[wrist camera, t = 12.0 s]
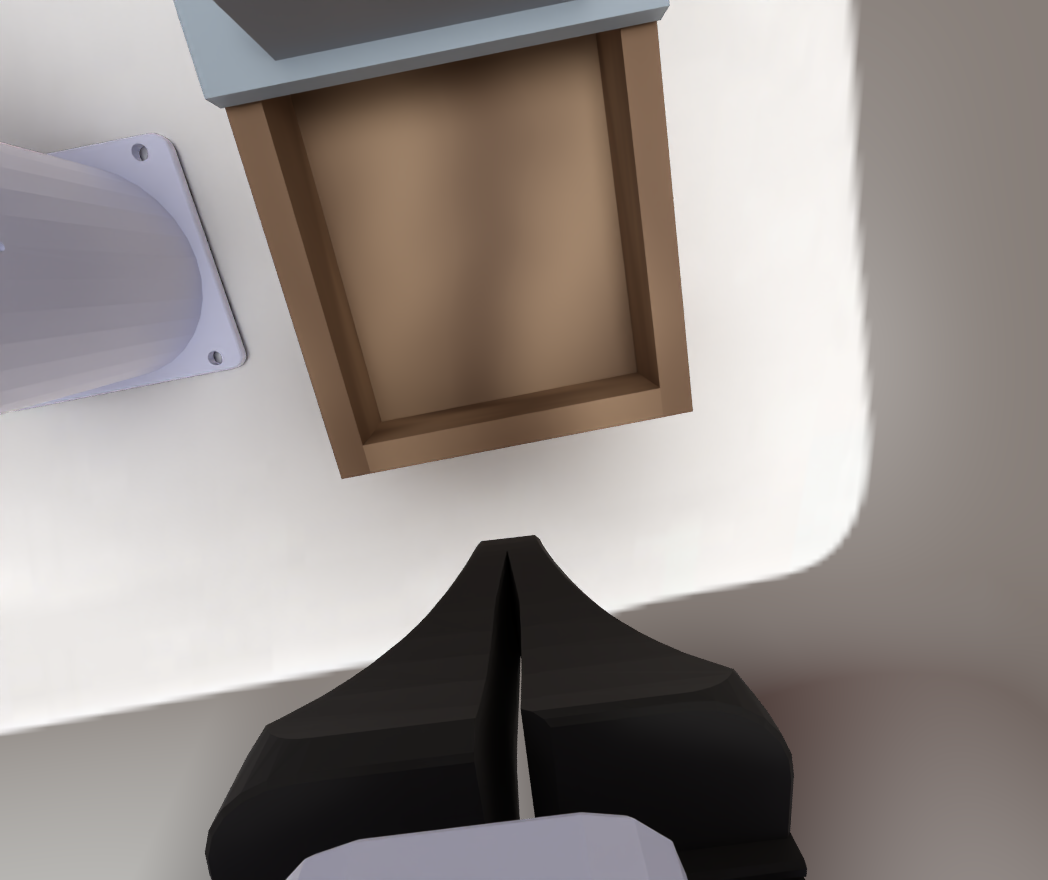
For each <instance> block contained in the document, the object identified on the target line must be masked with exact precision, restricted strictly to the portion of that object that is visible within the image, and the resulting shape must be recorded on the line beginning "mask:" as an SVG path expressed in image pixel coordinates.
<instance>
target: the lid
mask: <svg viewBox="0 0 1048 880" xmlns="http://www.w3.org/2000/svg"><path fill="white" fill-rule="evenodd" d="M173 1H174V4H175V7H176V10H177V14H178V17H179V20H180V23H181V26H182V29H183V32H184V35H185V38H186V41H187V44H188V48H189V51H190V54H191V57H192V60H193V63H194V66H195V69H196V72H197V75H198V79H199V82H200V85H201V88H202V91H203V94H204V97H205V99H206V100H208V101H209V102H211V103H213V104H214V105H216V106H218V107H219V108H225V107H230V106H235V105H240V104H245V103H250V102H255V101H260V100H265V99H270V98H275V97H280V96H285V95H290V94H295V93H300V92H305V91H310V90H315V89H320V88H325V87H330V86H335V85H340V84H345V83H350V82H355V81H360V80H365V79H370V78H375V77H379V76H384V75H389V74H394V73H399V72H404V71H409V70H414V69H419V68H424V67H429V66H434V65H439V64H444V63H449V62H454V61H459V60H464V59H469V58H474V57H479V56H484V55H489V54H494V53H499V52H504V51H509V50H514V49H519V48H524V47H529V46H534V45H539V44H544V43H549V42H553V41H558V40H563V39H568V38H573V37H578V36H583V35H588V34H593V33H598V32H603V31H608V30H613V29H618V28H623V27H628V26H633V25H638V24H643V23H648V22H653V21H658V20H661V18H662V17H663V15H664V13H665V12H666V10H667V9H668V7H669V6H670V4H669V0H173Z"/></svg>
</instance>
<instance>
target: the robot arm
mask: <svg viewBox="0 0 1048 880" xmlns="http://www.w3.org/2000/svg"><path fill="white" fill-rule="evenodd" d="M144 146H145V147H146V149H147V150H148V157H147V159H146V160H144V161H142V159H141V158H140V155H139V151H140V149H141V148H142V147H144ZM215 351H217V352H218V353H220V354H221V356H222V362H221V363H218V362H216V361H215V359H214V358H213V354H214V352H215ZM245 360H246V352H245V349H244V346H243V343H242V340H241V338H240V335H239V332H238V329H237V326H236V323H235V320H234V317H233V314H232V312H231V309H230V306H229V303H228V300H227V297H226V294H225V291H224V288H223V286H222V283H221V280H220V277H219V274H218V271H217V268H216V265H215V263H214V260H213V257H212V254H211V251H210V248H209V245H208V242H207V239H206V237H205V234H204V231H203V228H202V225H201V222H200V219H199V216H198V214H197V211H196V208H195V205H194V202H193V199H192V196H191V193H190V190H189V188H188V185H187V182H186V179H185V176H184V173H183V170H182V167H181V165H180V162H179V159H178V156H177V153H176V150H175V148H174V146H173V144H172V143H171V142H170V141H169V140H168V139H167V138H165V137H163V136H161V135H158V134H156V133H147V134H142V135H137V136H132V137H127V138H122V139H117V140H112V141H107V142H102V143H97V144H92V145H87V146H83V147H78V148H73V149H68V150H63V151H58V152H53V153H48V154H43V153H39V152H36V151H32V150H28V149H25V148H21V147H17V146H13V145H10V144H6V143H2V142H0V415H1V414H5V413H8V412H12V411H19V410H24V409H29V408H34V407H39V406H44V405H50V404H55V403H60V402H65V401H70V400H75V399H80V398H85V397H90V396H96V395H101V394H106V393H111V392H116V391H121V390H126V389H131V388H136V387H142V386H147V385H152V384H157V383H162V382H167V381H172V380H177V379H182V378H188V377H193V376H198V375H203V374H208V373H213V372H218V371H223V370H228V369H234V368H236V367H239V366H241V365H242V364H243V363H244V362H245ZM520 657H521V659H522V660H521V661H522V662H521V663H522V681H521V682H522V683H521V715H522V723H523V729H524V737H525V745H526V753H527V760H528V768H529V775H530V783H531V790H532V798H533V806H534V812H535V818H529V819H521V820H520V817H519V798H518V780H517V734H518V731H517V730H518V708H519V685H520V683H519V682H520ZM793 778H794V773H793V763H792V754H791V752H790V750H789V748H788V746H787V744H786V742H785V740H784V738H783V736H782V734H781V732H780V731H779V729H778V727H777V726H776V724H775V723H774V721H773V719H772V718H771V716H770V715H769V713H768V712H767V710H766V709H765V708H764V706H763V705H762V704H761V702H760V701H759V700H758V699H757V697H756V696H755V695H754V693H753V692H752V691H751V690H750V689H749V687H748V686H747V685H746V684H745V682H744V681H743V680H742V679H741V678H740V676H739V675H738V674H737V673H736V671H735V670H734V669H731V668H728V667H725V666H722V665H719V664H716V663H713V662H710V661H707V660H704V659H701V658H698V657H695V656H692V655H689V654H686V653H683V652H681V651H679V650H676V649H674V648H672V647H670V646H667V645H665V644H663V643H660V642H658V641H656V640H654V639H652V638H650V637H648V636H646V635H644V634H642V633H640V632H638V631H637V630H635V629H633V628H631V627H630V626H628V625H626V624H625V623H623V622H621V621H620V620H618V619H616V618H615V617H613V616H612V615H610V614H609V613H608V612H606V611H605V610H604V609H602V608H601V607H600V606H598V605H597V604H596V603H595V602H594V601H592V600H591V599H590V598H589V597H588V596H587V595H586V594H585V593H583V592H582V591H581V590H580V589H579V588H578V587H577V586H576V585H575V584H574V583H573V582H572V581H571V580H570V579H569V578H568V577H567V575H566V574H565V573H564V572H563V571H562V570H561V569H560V568H559V566H558V565H557V564H556V563H555V562H554V560H553V559H552V558H551V556H550V555H549V554H548V552H547V551H546V549H545V548H544V546H543V545H542V543H541V541H540V539H539V538H538V537H536V536H535V535H531V536H523V537H514V538H505V539H497V540H488V541H481V542H480V543H479V544H478V546H477V547H476V549H475V550H474V552H473V554H472V556H471V557H470V559H469V560H468V562H467V564H466V565H465V567H464V568H463V570H462V571H461V573H460V574H459V575H458V577H457V578H456V580H455V581H454V582H453V584H452V585H451V587H450V588H449V589H448V591H447V592H446V593H445V595H444V596H443V597H442V598H441V599H440V601H439V602H438V603H437V604H436V605H435V607H434V608H433V609H432V610H431V611H430V613H429V614H428V615H427V616H426V617H425V618H424V619H423V620H422V621H421V622H420V623H419V624H418V625H417V626H416V627H415V628H414V629H413V630H412V631H411V632H410V633H409V634H408V635H407V636H405V637H404V638H403V639H402V640H401V641H400V642H398V643H397V644H396V645H395V646H393V647H392V648H391V649H390V650H388V651H387V652H386V653H385V654H383V655H382V656H381V657H380V658H378V659H377V660H376V661H375V662H373V663H372V664H371V665H369V666H368V667H367V668H365V669H364V670H362V671H361V672H359V673H358V674H356V675H355V676H354V677H352V678H351V679H349V680H347V681H346V682H344V683H343V684H341V685H339V686H338V687H336V688H335V689H333V690H332V691H330V692H328V693H327V694H325V695H323V696H322V697H320V698H318V699H316V700H314V701H312V702H311V703H309V704H307V705H305V706H303V707H301V708H299V709H297V710H295V711H294V712H292V713H290V714H288V715H286V716H284V717H282V718H280V719H278V720H276V721H274V722H272V723H270V724H268V725H266V726H265V728H264V730H263V732H262V733H261V735H260V736H259V738H258V740H257V741H256V743H255V745H254V746H253V748H252V749H251V751H250V752H249V754H248V756H247V758H246V760H245V762H244V763H243V765H242V767H241V769H240V771H239V773H238V775H237V777H236V779H235V781H234V783H233V785H232V787H231V788H230V791H229V792H228V794H227V797H226V798H225V800H224V802H223V804H222V806H221V808H220V810H219V812H218V814H217V816H216V818H215V819H214V821H213V823H212V825H211V827H210V829H209V832H208V838H207V844H206V850H205V855H206V860H207V865H208V870H209V874H210V876H211V879H212V880H805V879H804V877H806V874H807V867H806V864H805V860H804V858H803V856H802V854H801V853H800V850H799V848H798V846H797V845H796V843H795V841H794V839H793V837H792V835H791V833H790V825H791V809H792V794H793Z"/></svg>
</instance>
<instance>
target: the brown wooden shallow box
mask: <svg viewBox="0 0 1048 880" xmlns="http://www.w3.org/2000/svg"><path fill="white" fill-rule="evenodd" d="M225 109H226V112H227V116H228V119H229V122H230V125H231V128H232V131H233V135H234V138H235V141H236V144H237V147H238V151H239V154H240V157H241V160H242V163H243V166H244V170H245V173H246V176H247V179H248V182H249V185H250V189H251V192H252V195H253V198H254V201H255V205H256V208H257V211H258V214H259V217H260V220H261V224H262V227H263V230H264V233H265V236H266V240H267V243H268V246H269V249H270V252H271V255H272V259H273V262H274V265H275V268H276V271H277V275H278V278H279V281H280V284H281V287H282V290H283V294H284V297H285V300H286V303H287V306H288V310H289V313H290V316H291V319H292V322H293V325H294V329H295V332H296V335H297V338H298V341H299V345H300V348H301V351H302V354H303V357H304V360H305V364H306V367H307V370H308V373H309V376H310V379H311V383H312V386H313V389H314V392H315V395H316V399H317V402H318V405H319V408H320V411H321V414H322V418H323V421H324V424H325V427H326V430H327V434H328V437H329V440H330V443H331V446H332V449H333V453H334V456H335V459H336V462H337V465H338V469H339V472H340V475H341V478H342V479H344V478H350V477H355V476H360V475H365V474H370V473H375V472H381V471H386V470H391V469H396V468H401V467H407V466H412V465H417V464H422V463H427V462H433V461H438V460H443V459H448V458H453V457H458V456H464V455H469V454H474V453H479V452H484V451H490V450H495V449H500V448H505V447H510V446H516V445H521V444H526V443H531V442H536V441H541V440H547V439H552V438H557V437H562V436H567V435H573V434H578V433H583V432H588V431H593V430H598V429H604V428H609V427H614V426H619V425H624V424H630V423H635V422H640V421H645V420H650V419H656V418H661V417H666V416H671V415H676V414H681V413H687V412H692V411H693V408H692V397H691V386H690V376H689V365H688V354H687V343H686V332H685V322H684V311H683V300H682V289H681V278H680V267H679V257H678V246H677V235H676V224H675V213H674V203H673V192H672V181H671V170H670V159H669V148H668V138H667V127H666V116H665V105H664V94H663V84H662V73H661V62H660V51H659V40H658V29H657V21H653V22H648V23H643V24H638V25H633V26H628V27H623V28H618V29H613V30H608V31H603V32H598V33H593V34H588V35H583V36H578V37H573V38H568V39H563V40H558V41H553V42H549V43H544V44H539V45H534V46H529V47H524V48H519V49H514V50H509V51H504V52H499V53H494V54H489V55H484V56H479V57H474V58H469V59H464V60H459V61H454V62H449V63H444V64H439V65H434V66H429V67H424V68H419V69H414V70H409V71H404V72H399V73H394V74H389V75H384V76H379V77H375V78H370V79H365V80H360V81H355V82H350V83H345V84H340V85H335V86H330V87H325V88H320V89H315V90H310V91H305V92H300V93H295V94H290V95H285V96H280V97H275V98H270V99H265V100H260V101H255V102H250V103H245V104H240V105H235V106H230V107H225Z"/></svg>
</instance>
